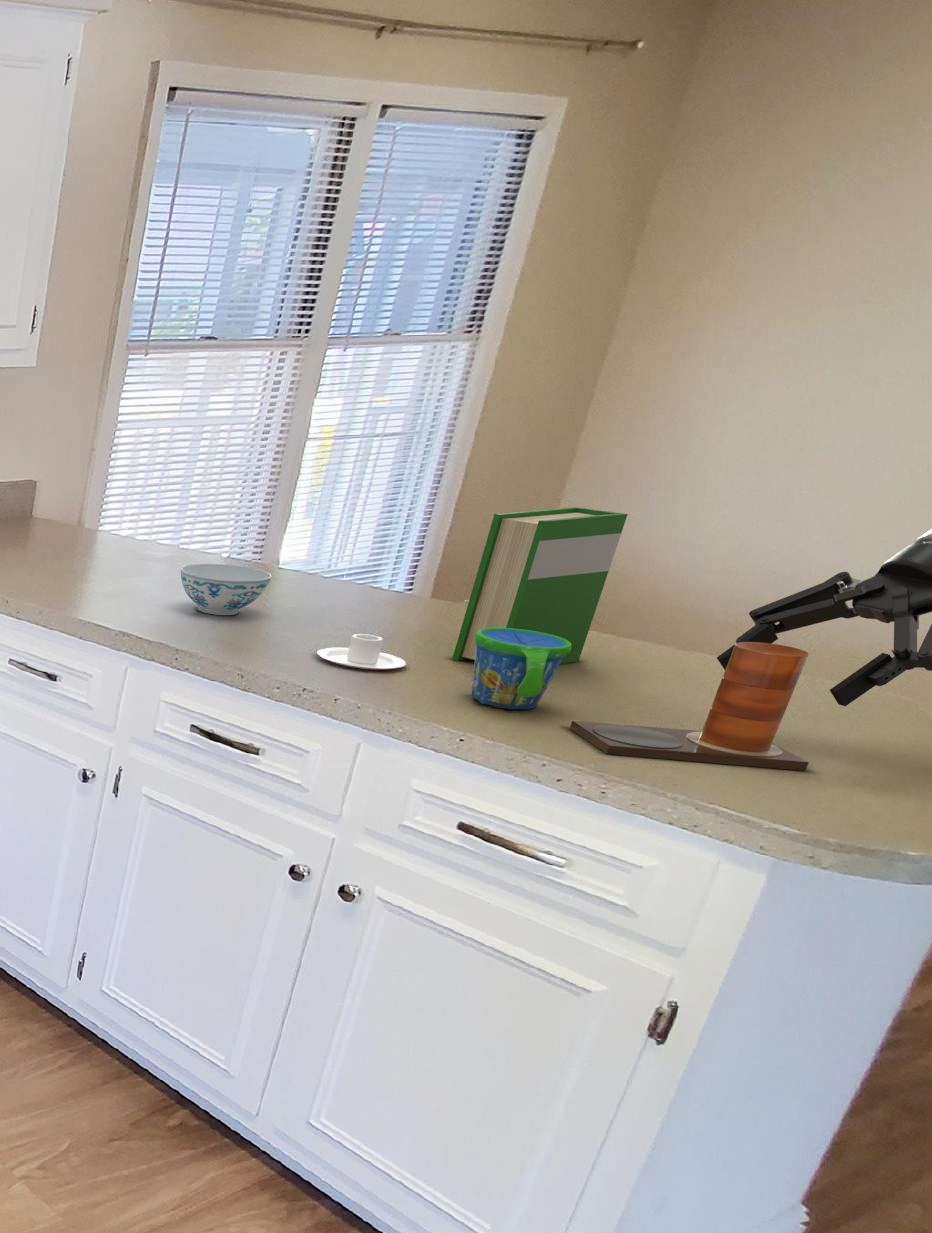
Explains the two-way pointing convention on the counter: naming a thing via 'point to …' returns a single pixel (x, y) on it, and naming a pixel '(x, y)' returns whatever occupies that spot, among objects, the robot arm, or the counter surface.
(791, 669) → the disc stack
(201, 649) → the counter surface
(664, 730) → the board
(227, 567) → the chinaware
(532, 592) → the hardback book
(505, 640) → the snack cup
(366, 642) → the candle holder
